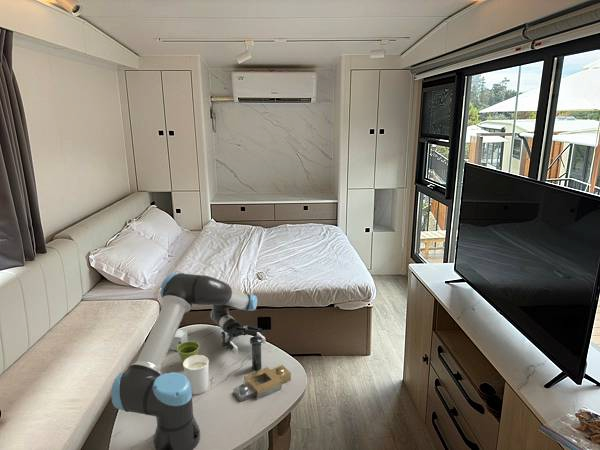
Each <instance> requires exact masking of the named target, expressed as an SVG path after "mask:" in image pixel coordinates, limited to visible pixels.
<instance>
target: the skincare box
mask: <svg viewBox="0 0 600 450" xmlns="http://www.w3.org/2000/svg"><path fill="white" fill-rule="evenodd" d="M184 342H189V340H188V331H187V330H183V329H182V330H181V329H177V332H176V334H175V336H174V339H173V341H172V343H171V346H170V348H169V350H171V351H177V347H178V346H179V345H180V344H182V343H184Z"/></svg>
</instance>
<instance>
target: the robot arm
mask: <svg viewBox="0 0 600 450" xmlns="http://www.w3.org/2000/svg"><path fill="white" fill-rule="evenodd" d="M160 288H161V290H160V292H159V293H160V297H161V302H162V305H163V306H162V308H161V310H160V312H159V314H158V316H157V318H156V319H155V322H154V324H153V327H152V328H151V331H150V333H149V335H148V337H147V339H146V341H145V343H144V345H143V347H142V349H141V352H140V354H139V356H138V359H137V360H136V362H134V363H132V364H130V365H129V367H128V369H127V371H124V372H121V373H119V374H118V375H117V376H116V377H115V379H114V380H113V384H112V387H111V393H110V396H111V402H112V405H113V407H114V408H116V409H117V410H120V411H124V412H125V413H129V412H130V413H135V414H141V415H146V416H151V417H156V423H157V426H156V428H155V431H154V432H155V433H154V435H153V446H154V450H194V449H195V448H196V447H197V446H198V444H199V443H200V440H201V430H200V429H201V428H200V426H199V424H198V422H197V420H196V419H195V417H194V407H193V394H192V389H191V385H190V382H189V380H188V378H187V377H186V376H185V374H182V373H179V372H174V371H172V372H171V371H170V372H168V373H162V372H161V369H162V368H163V367H162V366H163V364H164V362H165V360H166V357H167V355H168V352H169V351H170V346H171V343H172V341H173V339H174V336H175V334H176V332H177V330H179V327H180V325H181V322H182V320H183V318H184V315H185V313H188V312H190V311H191V308H192V306H193V305H201V306H212V310H211V311H210V319H211V320H212V321H213V322H214V324H216V325H217V327H219V328H220V329H221V330H222V331H221V338H222V340H221V341H222V348H223V349H224V348H225V349H227V350H230V351H233V352H234V353H235V354H237V355H238V354H239V348H238V346H237V345H236V344H235V343H234V342H233V340H234V339H235V338H237V337H240V336H252V337H254V336H259V337H261V338H262V343H261V344H264V345H265V344H266V337H265V336H264V331H263V328H260V327H257V326H253V325H250V324H248V323H245V325H244V326H242V325H241V324H240V322H239V321H238V320H237V319H235V318H234V317H233V316H232V315H231V314H230V312H229V309H232V310H233V309H234V310H240V311H241V310H243V311H250V312H251V311H252V312H253V311H256V309H257V305H258V297H257V295H253V294H247V293H244V292H242V291H239V290H238V289H235V288H232V287H231V286H230V284H228V283H226V282H224V281H223V280H220V279H218V278H216V277H213V276H209V275H203V274H192V273H191V274H190V273H184V272H173V273H169V275H167V276H166V277H165V278H164V280H163V281H162V283H161V286H160ZM227 336H228V338H227Z"/></svg>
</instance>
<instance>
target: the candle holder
mask: <svg viewBox="0 0 600 450" xmlns="http://www.w3.org/2000/svg"><path fill="white" fill-rule="evenodd" d="M182 366H183V373H184V376H186V377H187V378H188V380H189V382H190V385H191V389H192V395H195V396H196V395H200V394H201V395H202V394H203V393H205V392H206V391H208V389H209V358H208V357H207V356H205V355H202V354H198V355H194V356H191V357H189V358H187V359H186V360H185V361H184V362H183V365H182Z"/></svg>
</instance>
